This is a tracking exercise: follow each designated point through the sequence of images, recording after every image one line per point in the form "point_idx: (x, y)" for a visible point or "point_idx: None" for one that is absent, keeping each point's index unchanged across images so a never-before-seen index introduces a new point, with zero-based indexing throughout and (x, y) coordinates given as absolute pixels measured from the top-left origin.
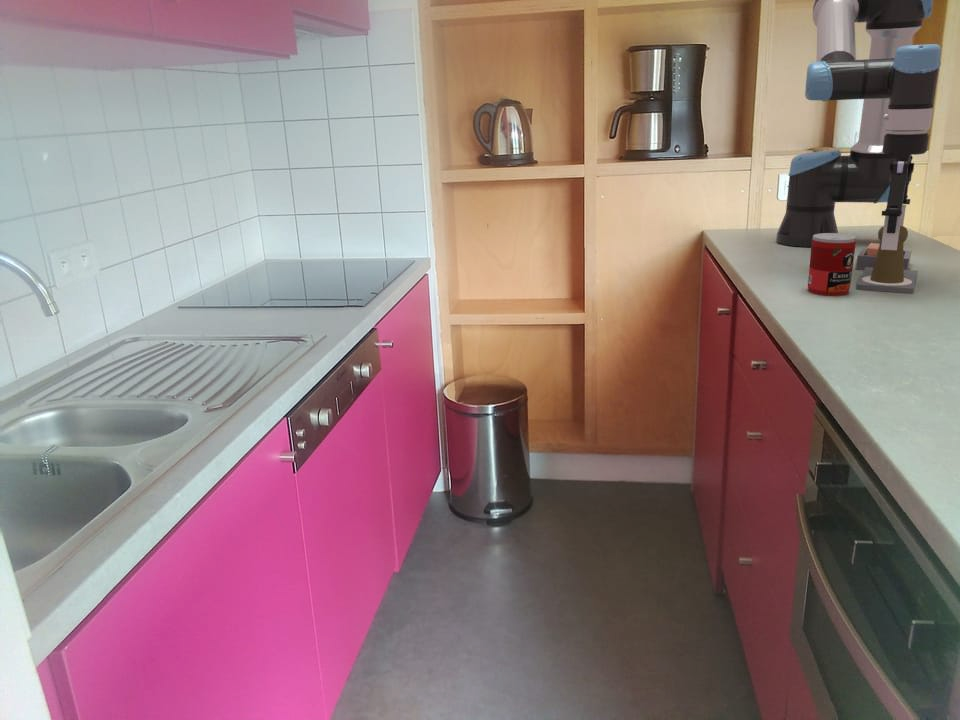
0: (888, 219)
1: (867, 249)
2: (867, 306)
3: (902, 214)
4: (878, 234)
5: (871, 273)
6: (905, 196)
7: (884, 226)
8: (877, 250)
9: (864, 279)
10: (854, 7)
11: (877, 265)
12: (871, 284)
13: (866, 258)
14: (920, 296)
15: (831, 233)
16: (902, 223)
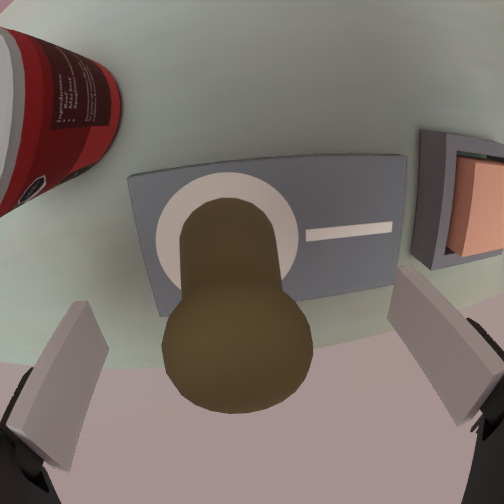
0: (2, 418)
1: (472, 163)
2: (3, 248)
3: (440, 384)
4: (206, 292)
5: (321, 183)
6: (472, 469)
7: (29, 379)
8: (468, 191)
9: (205, 183)
10: None
11: (189, 239)
12: (148, 217)
13: (441, 158)
14: (146, 324)
15: (3, 68)
16: (417, 356)
